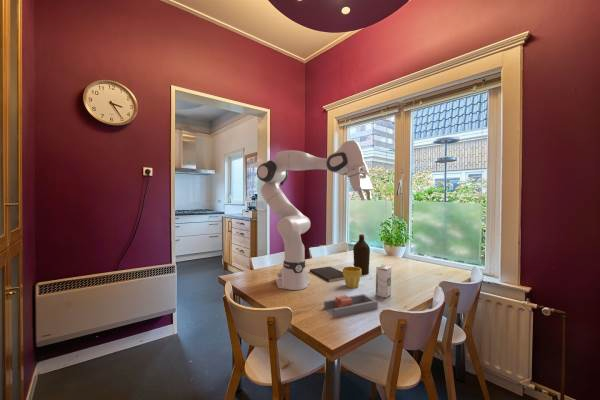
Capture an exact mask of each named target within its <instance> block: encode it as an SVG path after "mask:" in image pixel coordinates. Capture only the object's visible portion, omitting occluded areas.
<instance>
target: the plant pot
mask: <svg viewBox="0 0 600 400" xmlns="http://www.w3.org/2000/svg"><path fill="white" fill-rule="evenodd" d="M342 272H343V275H344V278H345V279H344V281H345V286H346V288H348V289H357V288H359V284H360V279H361V277H362V275H361V274H362V270H361V268H358V267H354V266H351V265H350V266H344V267H342Z"/></svg>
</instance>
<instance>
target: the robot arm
mask: <svg viewBox="0 0 600 400" xmlns="http://www.w3.org/2000/svg"><path fill="white" fill-rule="evenodd" d="M309 170H325V171H330V172H332V173H334V174H339V175H341V176H346V177H347V178H348V181H349V183H350V186H351V188H352V190H353V192H356V193H357V194H358V195H359V198H360V200H361V201H366V200H368V201H370V200H372V192H371V191H373V185H372V182H371V179H370V177H369V176H368V174H369V169H368V167H367V164H366V162H365V160H364V153H363V151H362V148H361V146H360V144H359V143H358V141H355V140H348V141H345V142H343V143H342V144H341V145H340V147H339V148H338V149H337V150H336V151H335V152H333V153H332V154H330V155H329V156H328V157H327V158H325V157H318V156H315V155H312V154H311V153H307V152H304V151H301V150H297V149H296V150H294V149H291V150H282V151H279V152H277V153H276V154H275V157H274V160H270V159H269V160H268V161H266V162H263V163H262V164H260V165H259V166H258V167H257V170H256V176H257V177H258V179H259V180H260V181H262V182H264V184H262V186H261V189H260V192H261V195H262V196H263V199H264V200H265V202H266V203H267V205H268V206H269V208H270V209H271V211H272V212H273V214H274V215H275V216H276V217H278V218H280V220H278V222H277V225H276V229H277V232H278V233H279V235H280V236H281V238H282V242H283V245H284V246H283V247H284V259H283V261H282V263H283V265H282V268H280V270H279V271H278V272H277V274H276V275H277V277H276V278H275V279H274V281H275V283H276V286H277V288H278V289H285V290H289V291H299V290H303V289H306V288H307V287H308V286H309V285H311V281H309V278H308V277H309V274H308V269H307V268H306V265H307V264H306V259H305V257H306V256H305V253H306V252H305V250H306V249H305V245H304V244H303V242H302V241H303V240H302V237H301V235H302V234H305V233H306V232H307V231H309V229H310V228H311V220H310V218H309V217H307V216H306V215H304V214H303V213H302V212H301V211H300V210H299V209H297V208H296V207H295V205H293V204H292V203H291V201H290V200H289V198H287V196H286V195H285V193H284V192H283V190H282V189H281V188H280V187H282V186H283V185H284V183H285V182H286V181H287V179H288V178H289V171H292V172H293V171H296V172H297V171H309ZM364 192H365V194H366V196H365V194H364Z"/></svg>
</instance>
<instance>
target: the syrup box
mask: <svg viewBox="0 0 600 400" xmlns="http://www.w3.org/2000/svg"><path fill="white" fill-rule="evenodd" d="M375 272H376V275H375V296H377V297H381V298H385V299H387V298H389V296H391V295H392V266H390V265H386V264H385V265H384V264H380V265H378V266H376V269H375Z"/></svg>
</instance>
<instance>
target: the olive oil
mask: <svg viewBox="0 0 600 400" xmlns="http://www.w3.org/2000/svg"><path fill="white" fill-rule="evenodd" d="M352 250H353V252H352V254H353V264H352V265H353V267H358V268H361V270H362V274H361V276H363V275H365V276H366V275H369V273H370V257H371V248H370V245H369V244H368V243H367V241H365V234H363V233H362V234H359V235H358V241H357V242H356V243H355V244H354V245H353V249H352Z"/></svg>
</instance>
